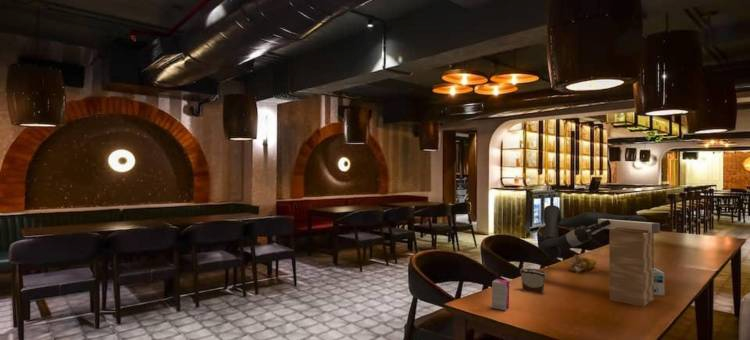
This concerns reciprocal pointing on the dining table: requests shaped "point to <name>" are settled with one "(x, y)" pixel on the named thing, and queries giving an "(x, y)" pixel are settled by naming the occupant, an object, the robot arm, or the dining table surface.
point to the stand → (631, 266)
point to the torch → (582, 264)
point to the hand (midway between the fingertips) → (611, 221)
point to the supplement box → (500, 295)
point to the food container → (533, 280)
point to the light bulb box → (659, 282)
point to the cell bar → (632, 225)
